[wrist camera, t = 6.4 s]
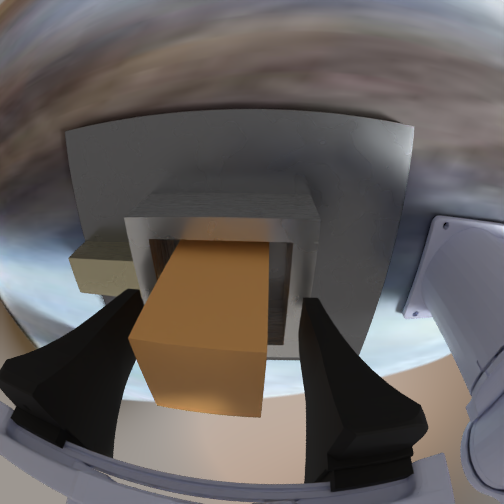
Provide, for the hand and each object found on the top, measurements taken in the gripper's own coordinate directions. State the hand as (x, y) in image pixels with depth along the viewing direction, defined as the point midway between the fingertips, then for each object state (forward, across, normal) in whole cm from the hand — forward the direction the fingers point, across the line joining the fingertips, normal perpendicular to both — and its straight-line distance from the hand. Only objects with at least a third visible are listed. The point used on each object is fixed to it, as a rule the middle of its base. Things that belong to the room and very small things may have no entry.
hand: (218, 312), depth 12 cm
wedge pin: (+4, 0, 0) cm, 4 cm away
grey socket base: (+5, 0, 0) cm, 5 cm away
